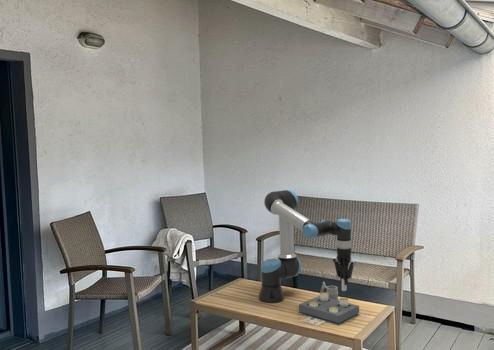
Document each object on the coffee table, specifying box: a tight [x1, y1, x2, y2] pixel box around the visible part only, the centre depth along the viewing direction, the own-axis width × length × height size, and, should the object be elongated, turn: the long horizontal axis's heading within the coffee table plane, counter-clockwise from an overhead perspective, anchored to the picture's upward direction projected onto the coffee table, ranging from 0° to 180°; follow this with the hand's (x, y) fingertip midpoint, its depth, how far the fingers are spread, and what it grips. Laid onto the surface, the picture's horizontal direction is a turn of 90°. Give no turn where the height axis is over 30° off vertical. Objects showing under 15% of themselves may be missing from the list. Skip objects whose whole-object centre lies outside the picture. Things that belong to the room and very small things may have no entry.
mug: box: [319, 281, 339, 300], centre depth 283 cm, size 8×12×12 cm, turn 48°
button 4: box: [338, 297, 349, 308], centre depth 264 cm, size 5×5×5 cm
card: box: [301, 316, 327, 327], centre depth 254 cm, size 10×7×1 cm
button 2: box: [319, 292, 328, 303], centre depth 273 cm, size 5×5×5 cm
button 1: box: [309, 302, 318, 307], centre depth 266 cm, size 5×5×5 cm
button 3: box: [329, 307, 338, 313], centre depth 257 cm, size 5×5×5 cm
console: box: [298, 295, 360, 326], centre depth 265 cm, size 26×20×5 cm
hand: (344, 290), depth 263 cm, fingers closed
